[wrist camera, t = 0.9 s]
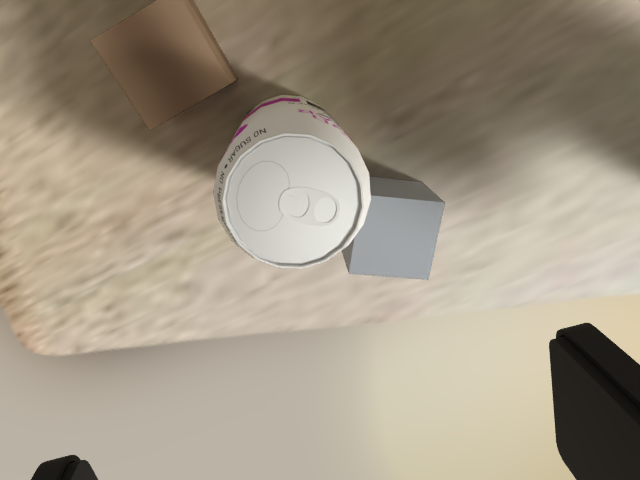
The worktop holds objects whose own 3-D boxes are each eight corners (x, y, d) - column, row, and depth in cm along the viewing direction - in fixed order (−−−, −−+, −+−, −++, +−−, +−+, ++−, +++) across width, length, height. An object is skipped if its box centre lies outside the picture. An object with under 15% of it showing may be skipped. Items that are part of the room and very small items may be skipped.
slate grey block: (421, 181, 40) (444, 202, 35) (408, 249, 42) (428, 279, 37) (349, 174, 40) (361, 194, 34) (339, 244, 42) (348, 273, 36)
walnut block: (192, -2, 34) (175, -12, 29) (238, 78, 37) (230, 83, 31) (120, 42, 35) (90, 40, 29) (169, 118, 37) (149, 130, 32)
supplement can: (227, 188, 39) (198, 263, 25) (247, 81, 37) (227, 100, 23) (326, 209, 40) (351, 292, 27) (352, 108, 38) (395, 141, 24)
